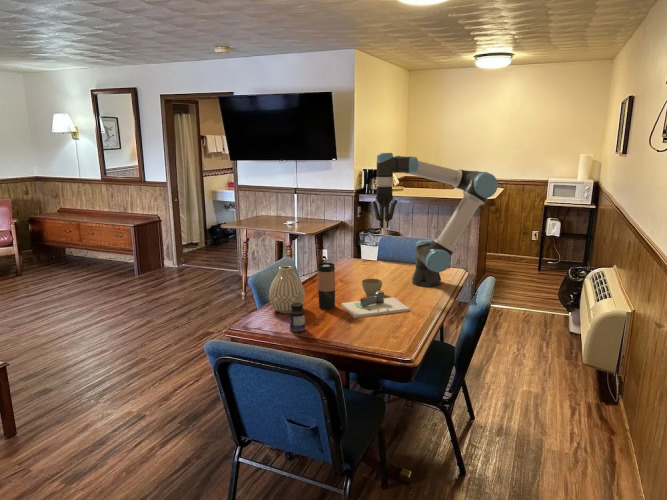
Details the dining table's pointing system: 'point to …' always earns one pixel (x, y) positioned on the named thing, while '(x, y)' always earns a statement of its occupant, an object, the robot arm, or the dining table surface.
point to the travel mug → (326, 286)
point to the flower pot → (371, 286)
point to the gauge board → (375, 308)
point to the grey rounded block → (373, 299)
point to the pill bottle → (297, 318)
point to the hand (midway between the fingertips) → (384, 234)
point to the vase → (285, 290)
